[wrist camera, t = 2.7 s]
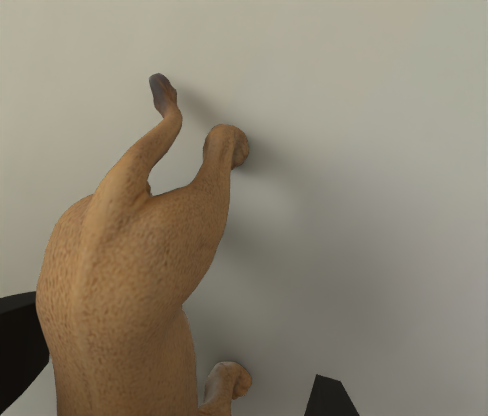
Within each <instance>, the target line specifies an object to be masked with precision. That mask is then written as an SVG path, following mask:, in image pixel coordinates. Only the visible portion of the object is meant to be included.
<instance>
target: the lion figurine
mask: <svg viewBox="0 0 488 416" xmlns="http://www.w3.org/2000/svg"><path fill="white" fill-rule="evenodd" d="M149 82H150V87H151V90H152V93H153V97H154V105H155V108H156V109H157V110H158V111H159V112H160V114H161V115H162V116H163V118H164V119H163V120H162V121H161V122H160V123H159V124H158V125H157V126H156V127H155V128H153V129H152V130H151V131H149V132H148V133H147V134H146V135H144V136H143V137H142V138H141V139H139V140H138V141H137V142H136V143H135V144H134V145H133V146H131V147H130V148H129V149H128V151H127V152H126V153H125V154H124V155H123V156H122V158H121V159H120V160H119V161H118V162H117V163H116V164H115V165H114V166H113V168H112V169H111V170H110V171H109V172H108V173H107V175H106V176H105V178H104V179H103V180H102V182H101V183H100V185H99V186H98V188H97V190H96V191H95V193H94V194H92V195H89V196H87V197H85V198H83V199H81V200H79V201H78V202H77V203H75V204H74V205H72V206H71V207H70V208H69V209H68V210H67V211H66V212H65V213H64V214H63V215H62V216H61V218H60V219H59V220H58V222H57V223H56V225H55V227H54V229H53V232H52V234H51V236H50V239H49V242H48V245H47V247H46V250H45V255H44V260H43V265H42V268H41V272H40V276H39V279H38V283H37V290H36V310H37V314H38V318H39V321H40V324H41V328H42V331H43V334H44V337H45V340H46V343H47V346H48V349H49V352H50V356H51V359H52V363H53V368H54V375H55V385H56V394H57V416H231V400H232V399H233V400H235V399H237V398H238V397H241V396H244V395H245V394H246V393H247V391H248V388H249V387H250V386H251V384H252V378H251V377H250V375H249V373H248V372H247V371H246V370H245V369H244V368H243V367H242V366H240V365H239V364H238V363H235V362H219V363H218V364H216V365H215V366H214V368H213V370H212V371H211V373H210V374H209V376H208V378H207V381H206V385H205V397H204V402H203V404H202V405H201V406H200V407H199V408H198V399H197V380H196V362H195V352H194V345H193V339H192V335H191V330H190V326H189V322H188V319H187V316H186V314H185V312H184V311H183V309H182V304H183V303H184V301H185V300H186V299H187V298H188V297H189V296H190V294H191V293H192V292H193V291H194V290H195V288H196V287H197V285H198V284H199V282H200V281H201V279H202V278H203V276H204V275H205V273H206V272H207V270H208V269H209V267H210V265H211V263H212V261H213V258H214V255H215V252H216V249H217V246H218V244H219V242H220V240H221V238H222V235H223V232H224V229H225V225H226V221H227V215H228V209H229V202H230V171H231V170H233V169H234V168H235V167H237V166H239V165H241V164H242V163H243V161H244V160H245V159H246V158H247V156H248V153H249V146H248V141H247V138H246V136H245V134H244V133H243V132H242V131H241V130H240V129H239V128H237V127H235V126H231V125H224V124H220V125H217V126H215V127H214V128H212V130H211V131H210V132H209V134H208V135H207V137H206V139H205V143H204V146H203V164H202V166H201V168H200V170H199V171H198V173H197V175H196V177H195V178H194V180H193V181H192V182H191V183H190V184H189V185H187V186H184V187H182V188H177V189H174V190H172V191H170V192H166V193H163V194H160V195H156V196H152V193H150V190H151V187H150V185H149V183H148V181H147V179H148V176H149V173H150V171H151V169H152V168H153V166H154V165H155V164H156V163H157V162H158V161H159V160H160V159H161V158H162V157H163V156H164V155H165V154H166V153H167V151H168V150H169V148H170V147H171V145H172V144H173V142H174V140H175V139H176V137H177V135H178V134H179V132H180V130H181V127H182V115H181V112H180V110H179V108H178V106H177V92H176V90H175V89H174V88H173V87H172V86H171V84H170V82H169V80H168V79H167V78H166V77H165V76H164V75H162V74H160V73H158V74H154V75H152V76H151V77H149Z"/></svg>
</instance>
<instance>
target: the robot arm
mask: <svg viewBox="0 0 488 416" xmlns="http://www.w3.org/2000/svg"><path fill="white" fill-rule="evenodd" d="M49 355H50V352H49V349H48V346H47V343H46V340H45V337H44V334H43V331H42V328H41V324H40V321H39V318H38V314H37V310H36V291H34V292H27V293H22V294H17V295H12V296H7V297H3V298H0V415H1V414H2V413H3V412H4V411H5V410H6V409H7V408H8V407H9V406H10V405H11V404H12V403H13V402H14V401H16V400H17V399H18V398H19V397H20V396H21V395H22V394H23V392H24V391H25V390H26V389H27V388H28V387H29V386H30V384H31V383H32V382H33V381H34V380H35V379H36V377H37V376H38V375H39V374H40V372H41V371H42V370H43V369H44V367H45V366H46V365H47V364H48V362H49ZM304 416H360V415H359V414H358V412H357V410H356V408H355V406H354V405H353V403H352V401H351V399H350V397H349V396H348V394H347V392H346V390H345V388H344V387H343V385H342V383H341V381H338V380H335V379H331V378H328V377H324V376H321V375H318V374H316V377H315V381H314V384H313V387H312V391H311V394H310V398H309V401H308V404H307V408H306V411H305V414H304Z"/></svg>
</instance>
